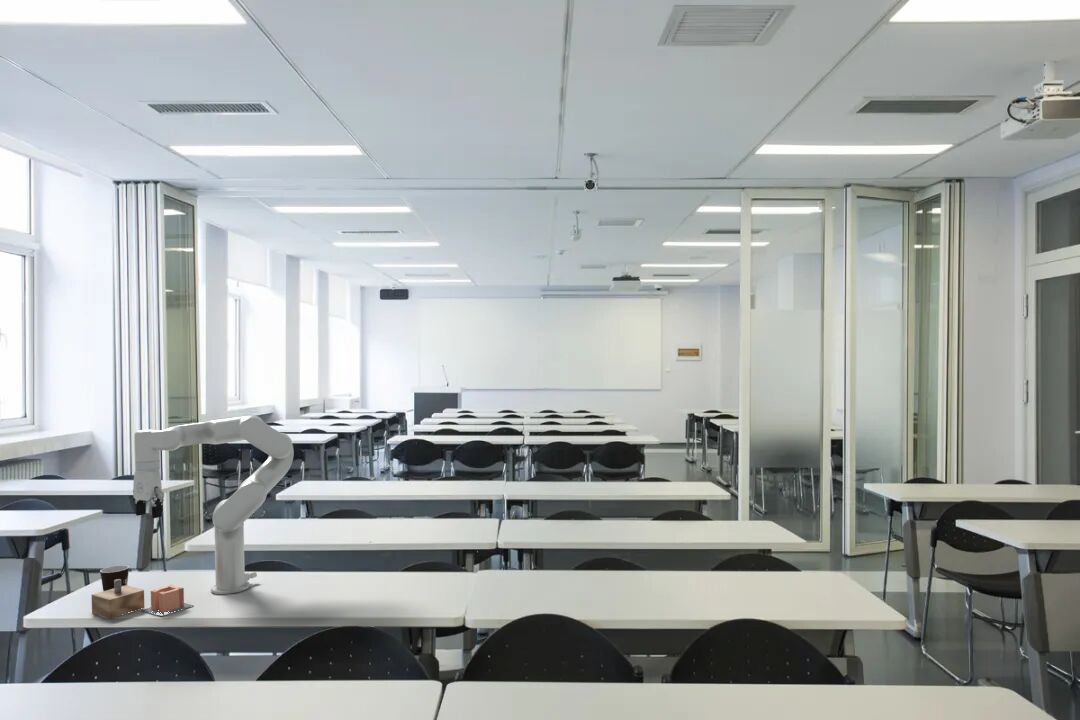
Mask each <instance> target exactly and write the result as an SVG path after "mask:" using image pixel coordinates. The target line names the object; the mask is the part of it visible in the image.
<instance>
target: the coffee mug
mask: <svg viewBox="0 0 1080 720" xmlns="http://www.w3.org/2000/svg"><path fill="white" fill-rule="evenodd" d="M129 571H130V566H129V565H123V564H122V565H113V566H108V567H104V568H102V569H100V570H99V573H100V578H101V579H100V580H101V584H102V585H101V586H102V592H103V591H106V590H110V589H114V580H117V579H121V586H125V585H127V586H128V581H129Z"/></svg>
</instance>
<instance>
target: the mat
mask: <svg viewBox="0 0 1080 720" xmlns="http://www.w3.org/2000/svg"><path fill="white" fill-rule="evenodd" d="M191 606H193V607H194V604H190V603H186V602H184V606H183V607H180V608H177V609H174V610H171V611H169V612H170V613H171V612H174V611H178V610H181V609H184V610H186V609H185V608H187V609H189V608H188V607H191ZM191 608H192V607H191ZM158 610H159V609H158ZM158 610H152V609H151V606H150V607H148V608H144V609H141V612H143V611H146V612H150V613H151V612H152V611H153V612H152V613H153V614H154V613H155V614H156V613H157V612H159V611H158ZM181 611H182V610H181ZM146 612H145V613H146ZM167 612H168V611H167ZM169 612H168V613H169ZM178 612H179V611H178ZM159 613H160V612H159ZM161 613H162V614H163V615H164V613H163V612H161ZM161 613H160V614H161ZM153 614H152V615H153Z"/></svg>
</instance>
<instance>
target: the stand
mask: <svg viewBox="0 0 1080 720" xmlns="http://www.w3.org/2000/svg"><path fill="white" fill-rule="evenodd" d="M141 608H144V609H145V590H144V589H141V588H137V587H134V586H130V585H128V584H127V585H125V586H121V579H117V580H114V589H110V590H106V591H103V590H102V591H99V592H95V593H93V594H92V593H91V614H93V613H94V615H96V616H100V617H103V618H107V619H109V620H110V619H113V618H114V617H115V618H118V617H120V615H121V616H123V615H122V614H124V615H126V614H125V613H128V612H131V611H134V612H136V611H135V610H137V611H139V610H138V609H141ZM141 610H142V609H141ZM131 613H132V612H131ZM128 614H129V613H128ZM117 616H118V617H117Z"/></svg>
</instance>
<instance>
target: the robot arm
mask: <svg viewBox="0 0 1080 720" xmlns="http://www.w3.org/2000/svg"><path fill="white" fill-rule="evenodd" d="M133 436H134V437H133V438H134V440H133V441H134V474H133V484H132V485H133V486H132V487H133V489H132V493H133V494H132V497H133V499H134V504H135V515H136V516H143V515H146V514H147V506H146V505H147V504H146V503H147V502H148V501H150V502H151V505H152V506H151V518H152V519H158V518H162V517H163V503H164V498H165V493H164V491H163V490H162V488H163V487H162V479H161V478H162V477H161V456H160V455H161V453H160V452H161V451H168V452H169V451H170V452H171V451H172V452H173V451H175V450H177V449H180V447H185V446H186V447H187V446H194V445H202V444H209V445H221V444H227V443H235V442H240V441H246V442H248V443H249V444H251V445H252V446H254V448H257V449H258V450H260V451H261V452H264V453H265V454H267V455H268V457H267V459H266V460H265V461H264V462H263V463H262V464H261V465H260V466H259V467H258V468H257V469H256V470H255V471H254V472H253V473H252V474H250V476H248V477H247V478H246V479H245V480H243V481H242V482H241V483H240V485H239V486H238V489H237V490H236V491H234V493H233V494H231V496H229V497H228V498H227V499H223V500H221V501H220V502H219V503H218V504H217V505H216V506H215V508H214V510H213V513H212V523H213V526H214V564H215V565H214V566H215V567H214V569H215V574H214V575H215V585H212V586H211V588H210V592H211V593H212V594H215V595H231V594H236V593H241V592H244V591H246V590H248V589H249V588H250V586H251V584H250V582H249V580H250V579H254V578H257V575H258V574H257V572H256V571H252V572H251V573H249V572H246V571H245V570H246V569H245V533H244V532H245V528H244V524H245V523H244V522H246V521H247V520H248V519H249V518H250V517H251V516H252V515H253V514H254V513H255V512H256V511H257V510H258V509H259V508H260V507H261V506H262V505H264V504H263V503H264V502H265V501H266V499H267V495H268V493H270V491H271V490H272V489H273V488H274V487H275V486H276V485H277V484H278V483H279V482H280V481H281V480H282V479H283V477H284V478H285V475H286V474H287V473H288V472H289V470H290V468H291V466H292V464H293V461H294V453H295V451H294V445H293V442H292V439H291V437H290V436H289V435H288V434H287V433H284V432H280V431H278V430H276V429H275V428H273V427H272V426H270V425H269V424H267V422H264V420H263V419H262V418H261V417H260V416H258V415H254V414H253V415H250V414H249V415H243V416H236V417H235V416H234V417H229V418H223V419H222V418H220V419H214V420H207V421H205V422H196V423H189V424H188V423H187V424H182V425H175V426H170V427H168V428H165V429H162V430H157V429H153V428H152V429H149V428H148V429H141V430H140V429H139V430H137V431H135V433H134V435H133Z"/></svg>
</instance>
